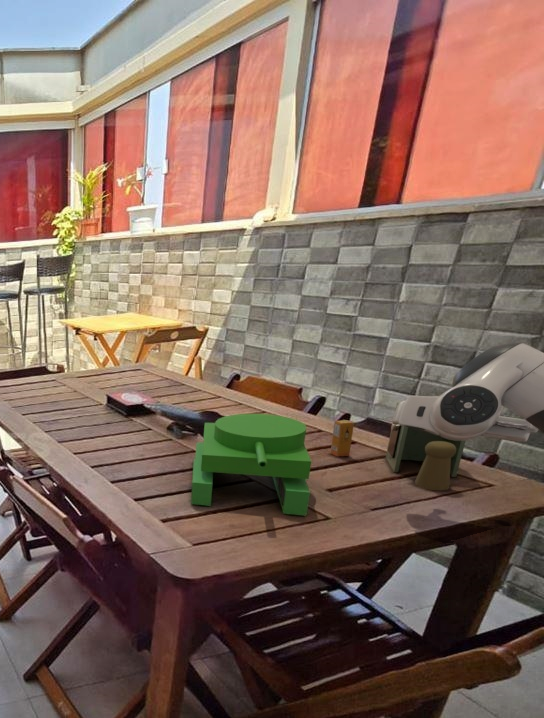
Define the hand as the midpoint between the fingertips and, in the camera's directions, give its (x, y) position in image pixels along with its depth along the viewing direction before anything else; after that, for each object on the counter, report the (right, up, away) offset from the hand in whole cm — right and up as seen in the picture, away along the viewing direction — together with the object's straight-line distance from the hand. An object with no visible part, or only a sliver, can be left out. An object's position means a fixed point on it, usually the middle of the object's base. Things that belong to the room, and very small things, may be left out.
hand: (455, 426), depth 107 cm
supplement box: (+2, -7, +34) cm, 34 cm away
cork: (+7, -14, +12) cm, 19 cm away
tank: (-34, -16, +20) cm, 43 cm away
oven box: (+13, -10, +21) cm, 27 cm away
